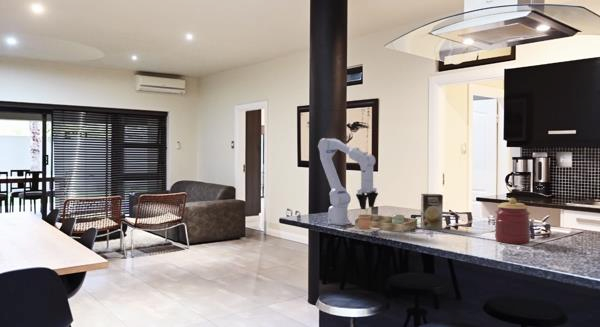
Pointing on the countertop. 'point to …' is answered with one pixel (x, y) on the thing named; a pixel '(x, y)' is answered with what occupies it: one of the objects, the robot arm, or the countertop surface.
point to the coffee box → (431, 211)
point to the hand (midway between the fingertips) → (367, 208)
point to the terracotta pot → (364, 221)
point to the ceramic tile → (363, 229)
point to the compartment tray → (390, 223)
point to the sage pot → (397, 219)
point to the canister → (512, 223)
